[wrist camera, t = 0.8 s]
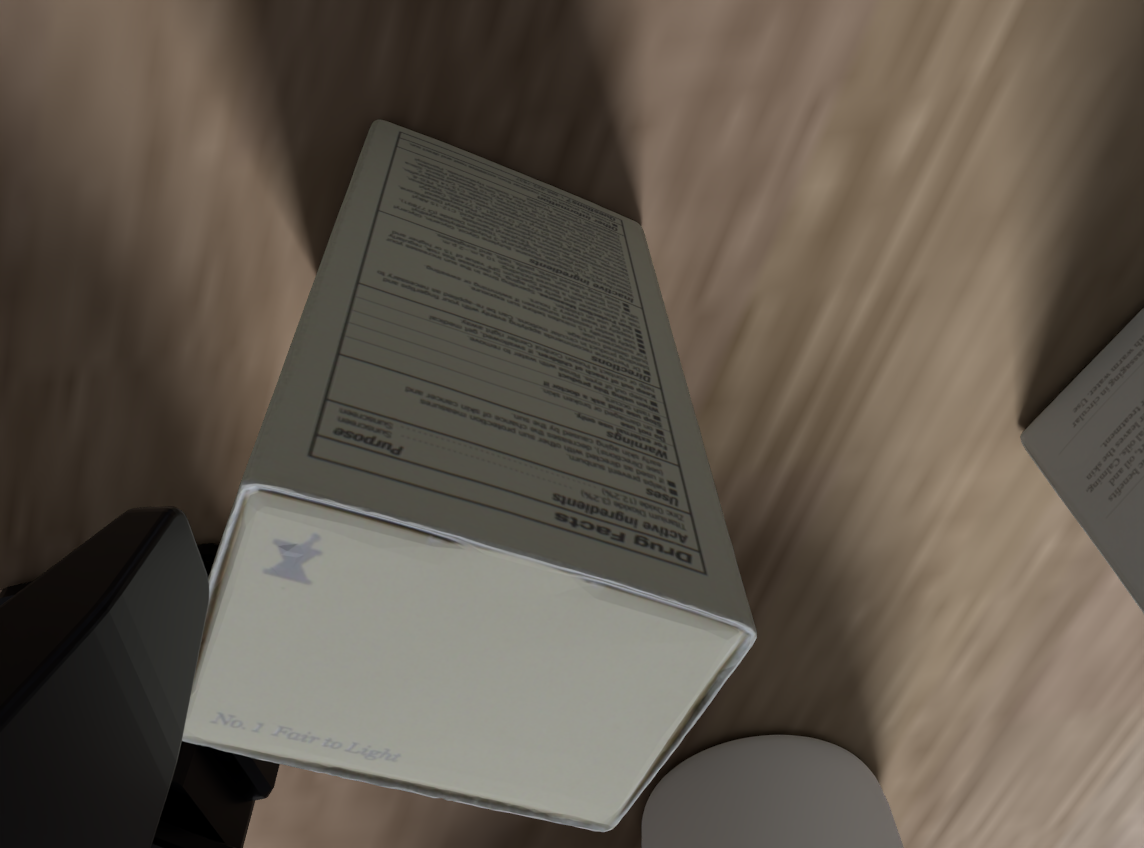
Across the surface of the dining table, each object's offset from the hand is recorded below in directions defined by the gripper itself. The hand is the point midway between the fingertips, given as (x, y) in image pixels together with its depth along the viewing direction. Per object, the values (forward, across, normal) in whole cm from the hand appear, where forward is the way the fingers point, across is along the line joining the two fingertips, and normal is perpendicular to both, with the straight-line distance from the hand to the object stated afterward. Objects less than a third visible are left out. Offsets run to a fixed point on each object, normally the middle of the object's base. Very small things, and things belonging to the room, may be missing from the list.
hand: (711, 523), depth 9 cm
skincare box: (+14, +3, +4) cm, 15 cm away
